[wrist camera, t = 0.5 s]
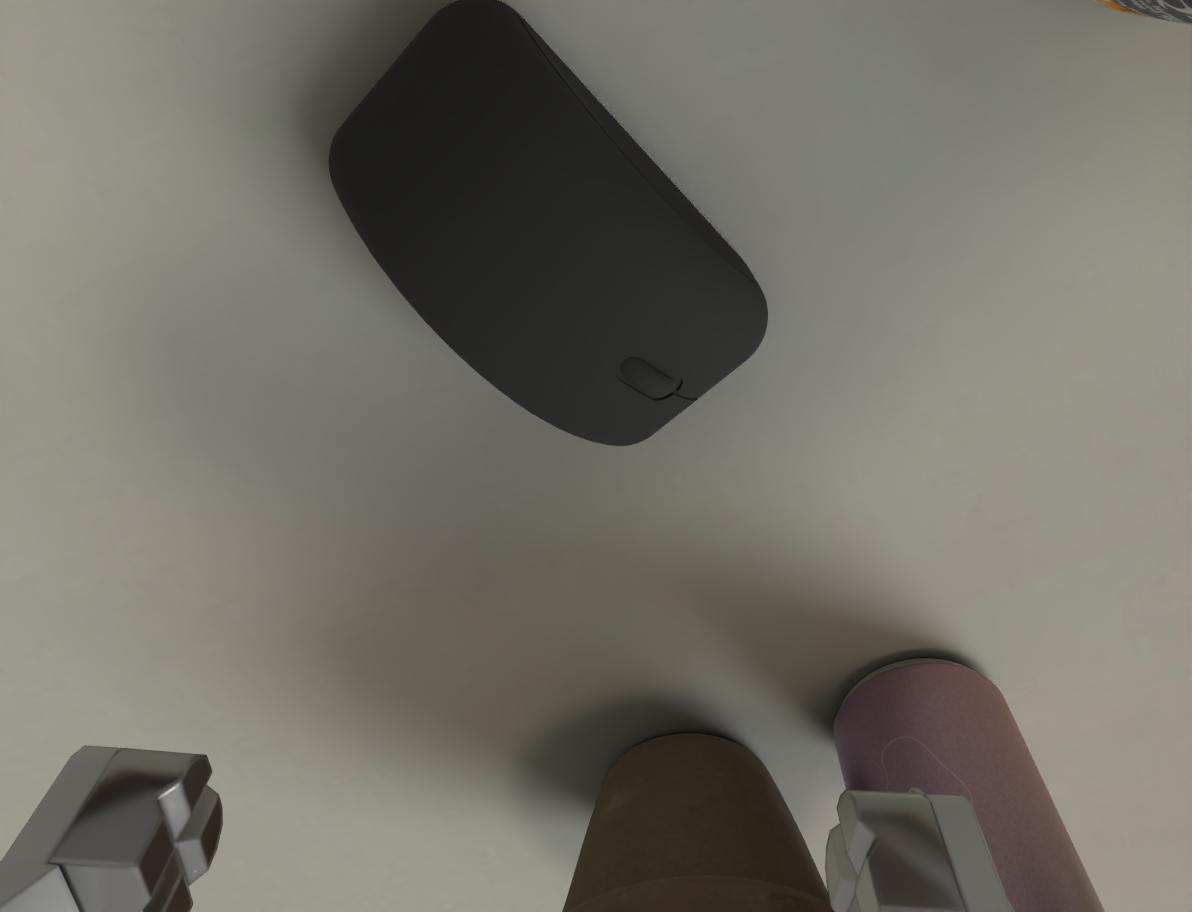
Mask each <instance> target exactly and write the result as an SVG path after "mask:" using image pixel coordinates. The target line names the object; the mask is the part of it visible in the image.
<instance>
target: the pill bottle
mask: <svg viewBox="0 0 1192 912" xmlns="http://www.w3.org/2000/svg"><path fill="white" fill-rule="evenodd" d="M1092 1H1094V2H1095V3H1098V4H1100V5H1102V6H1105V7H1107V8H1110V9H1113V10H1116V11H1121V12H1125V13H1129V14H1135V15H1140V16H1146V17H1152V18H1158V19H1163V20H1168V21H1173V22H1179V23H1185V24H1191V25H1192V0H1092Z"/></svg>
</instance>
